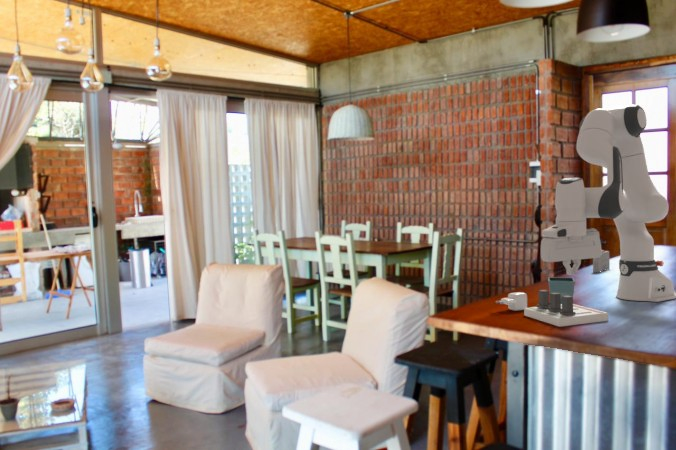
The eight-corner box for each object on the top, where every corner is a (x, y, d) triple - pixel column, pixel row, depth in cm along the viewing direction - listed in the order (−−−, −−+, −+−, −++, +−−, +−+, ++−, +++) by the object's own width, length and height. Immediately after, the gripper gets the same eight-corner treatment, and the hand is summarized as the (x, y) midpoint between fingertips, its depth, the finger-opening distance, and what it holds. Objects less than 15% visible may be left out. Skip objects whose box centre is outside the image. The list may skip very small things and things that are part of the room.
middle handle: (556, 309, 190) (556, 292, 190) (562, 311, 187) (562, 293, 187) (548, 310, 189) (547, 293, 189) (554, 312, 186) (554, 294, 186)
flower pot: (573, 301, 215) (573, 277, 214) (575, 306, 207) (574, 281, 206) (548, 301, 218) (548, 277, 217) (548, 305, 209) (548, 280, 209)
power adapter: (502, 313, 200) (502, 296, 200) (493, 311, 204) (493, 294, 204) (529, 309, 204) (528, 293, 203) (520, 307, 208) (519, 291, 208)
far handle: (545, 306, 196) (544, 289, 195) (551, 307, 193) (550, 290, 192) (536, 307, 195) (536, 290, 194) (542, 308, 192) (542, 291, 191)
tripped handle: (568, 312, 184) (568, 295, 184) (575, 314, 181) (575, 296, 181) (559, 313, 183) (559, 296, 183) (566, 315, 180) (566, 297, 180)
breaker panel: (570, 310, 200) (569, 302, 200) (608, 320, 183) (608, 312, 183) (524, 315, 195) (524, 307, 195) (559, 326, 178) (558, 318, 178)
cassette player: (603, 268, 295) (603, 248, 294) (609, 268, 293) (609, 249, 292) (593, 272, 283) (592, 252, 283) (598, 272, 281) (598, 252, 281)
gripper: (591, 227, 188) (592, 270, 188) (536, 231, 182) (538, 275, 182) (606, 228, 182) (607, 272, 182) (549, 232, 176) (551, 278, 176)
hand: (572, 274), depth 182 cm, fingers closed
